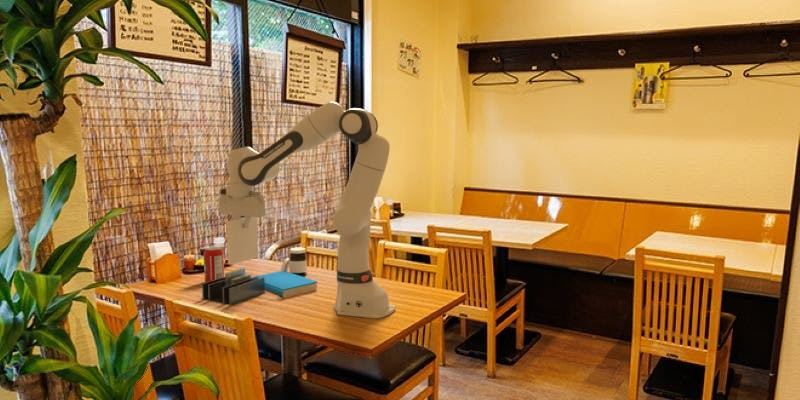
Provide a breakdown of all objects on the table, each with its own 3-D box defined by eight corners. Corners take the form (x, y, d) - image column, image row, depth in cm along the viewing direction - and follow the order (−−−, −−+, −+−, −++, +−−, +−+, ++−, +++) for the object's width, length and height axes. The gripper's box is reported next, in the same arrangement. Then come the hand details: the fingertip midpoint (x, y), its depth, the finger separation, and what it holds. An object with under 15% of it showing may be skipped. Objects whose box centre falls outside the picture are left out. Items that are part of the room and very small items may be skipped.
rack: (266, 295, 213) (265, 270, 211) (232, 308, 197) (231, 281, 196) (235, 290, 220) (234, 265, 219) (200, 301, 204) (199, 275, 203)
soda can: (218, 285, 227) (217, 250, 225) (201, 284, 228) (199, 249, 226) (227, 280, 234) (226, 246, 233) (210, 279, 236) (209, 245, 234)
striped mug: (307, 276, 242) (307, 250, 240) (281, 277, 239) (280, 251, 238) (305, 270, 253) (305, 245, 252) (281, 271, 251) (280, 246, 249)
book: (282, 270, 238) (318, 280, 221) (283, 280, 239) (318, 290, 221) (248, 277, 226) (282, 288, 209) (248, 287, 226) (282, 299, 209)
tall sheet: (258, 257, 210) (257, 216, 208) (231, 264, 198) (229, 221, 196) (255, 256, 211) (253, 215, 209) (228, 264, 198) (226, 220, 196)
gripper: (269, 191, 199) (269, 228, 201) (227, 188, 208) (229, 224, 210) (257, 192, 193) (257, 231, 195) (215, 189, 203) (216, 226, 204)
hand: (242, 227), depth 203 cm, fingers closed on tall sheet, 2 cm apart
